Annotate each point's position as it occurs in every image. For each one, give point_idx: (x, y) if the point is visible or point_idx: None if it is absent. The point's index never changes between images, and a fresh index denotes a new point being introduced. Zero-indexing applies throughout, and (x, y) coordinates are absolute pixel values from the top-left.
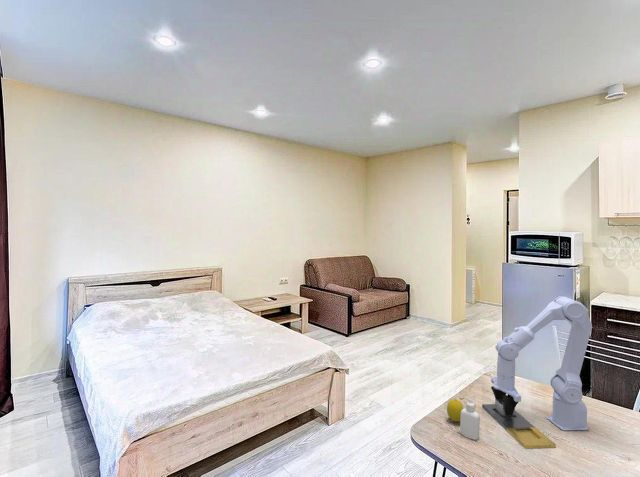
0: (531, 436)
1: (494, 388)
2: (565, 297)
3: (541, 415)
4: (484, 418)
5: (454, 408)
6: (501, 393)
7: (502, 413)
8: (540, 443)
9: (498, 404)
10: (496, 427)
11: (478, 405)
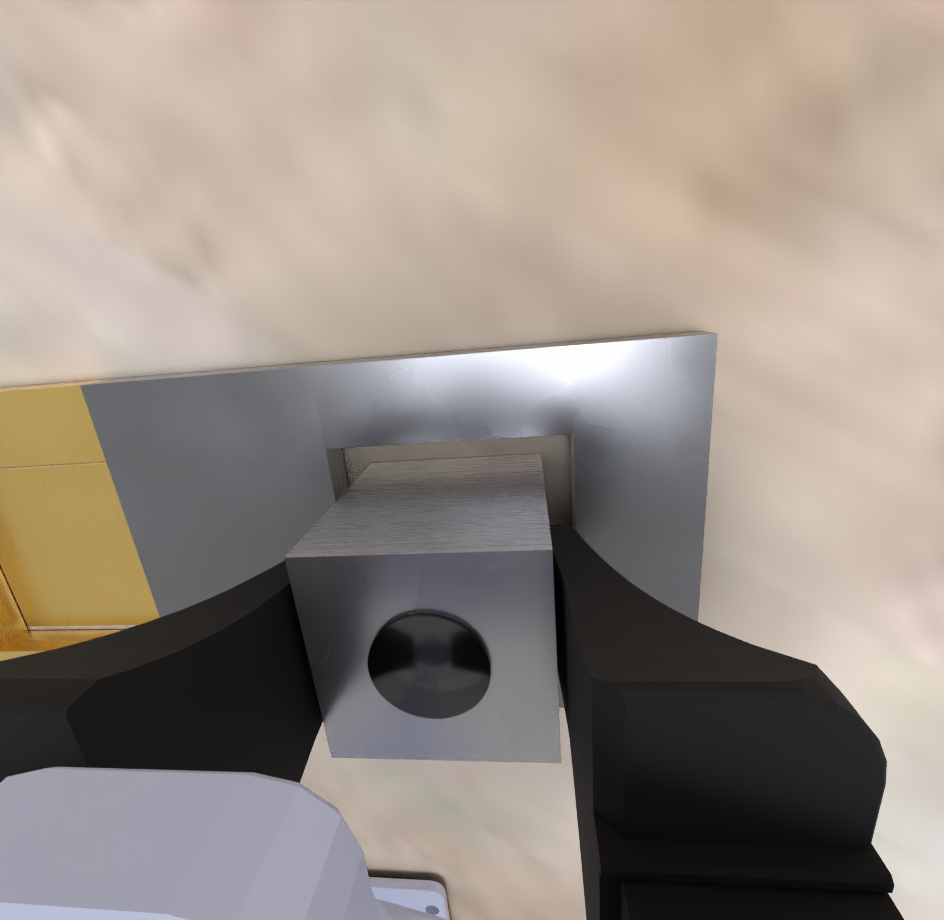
0: (69, 582)
1: (681, 757)
2: None
3: (486, 871)
4: (363, 205)
5: None
6: (582, 779)
7: (345, 492)
8: None
9: (437, 526)
10: (159, 279)
11: (758, 291)
